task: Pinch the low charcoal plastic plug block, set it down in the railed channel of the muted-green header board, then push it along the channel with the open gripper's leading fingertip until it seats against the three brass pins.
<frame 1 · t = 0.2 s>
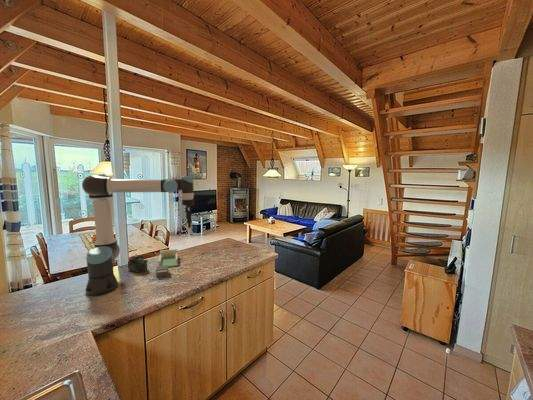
hand: (189, 230, 160), 27 cm above the worktop, fingers open, 13 cm apart
camera: (138, 270, 160), on the worktop
plug: (162, 274, 153), on the worktop
header: (168, 262, 173), on the worktop
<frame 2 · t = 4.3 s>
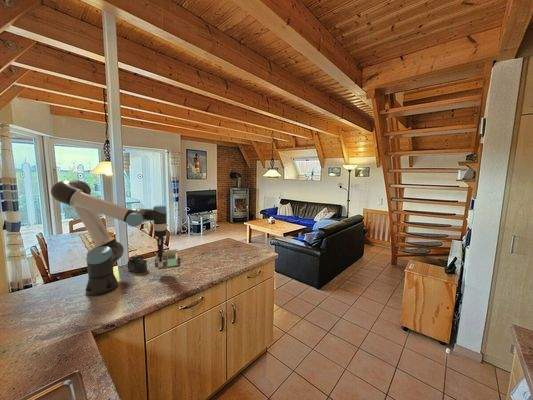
hand: (160, 264, 152), 7 cm above the worktop, fingers closed on plug, 6 cm apart
plug: (161, 265, 152), point 6 cm above the worktop, touching gripper
everything else where it was.
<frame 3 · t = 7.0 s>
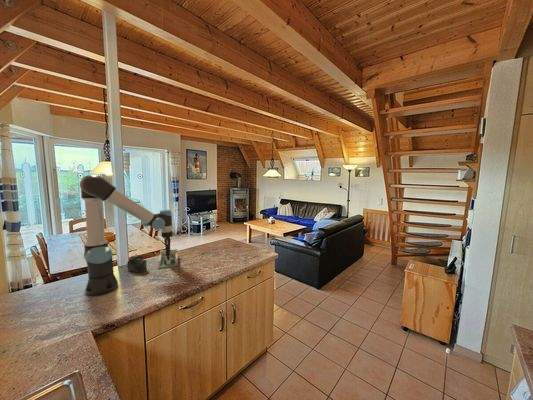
hand: (168, 262, 171), 1 cm above the worktop, fingers closed on header, plug, 6 cm apart
plug: (169, 262, 171), point 1 cm above the worktop, touching gripper, header
everything else where it was.
when the fingers open (1 cm above the worktop, at t = 7.5 s): plug stays where it is, resting on header.
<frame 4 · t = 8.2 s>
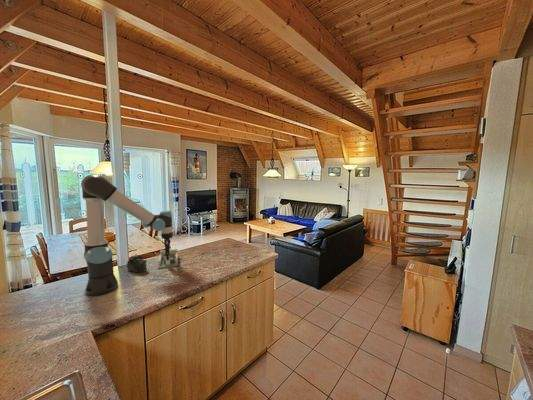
hand: (168, 260, 170), 2 cm above the worktop, fingers open, 13 cm apart
plug: (169, 262, 171), point 1 cm above the worktop, touching header
everything else where it was.
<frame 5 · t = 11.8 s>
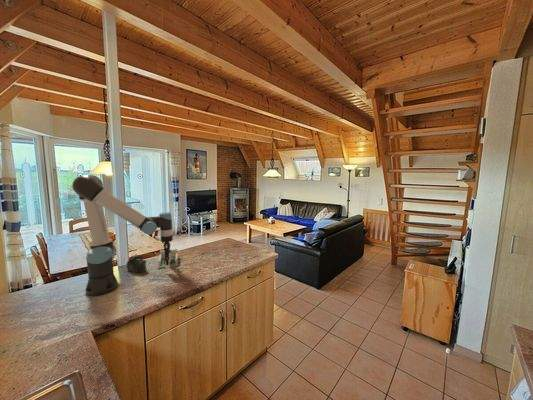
hand: (168, 265, 161), 3 cm above the worktop, fingers open, 13 cm apart
plug: (169, 262, 171), point 1 cm above the worktop, touching gripper
everything else where it was.
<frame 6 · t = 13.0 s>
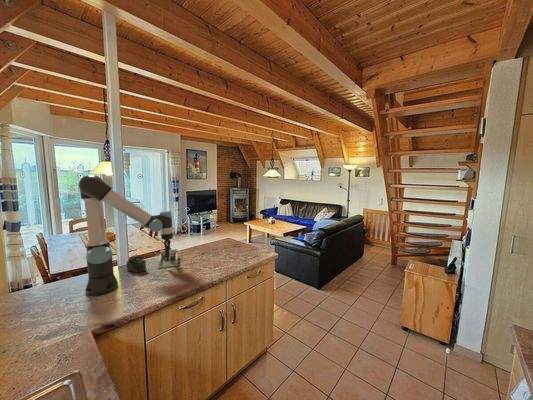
hand: (168, 262, 167), 3 cm above the worktop, fingers open, 13 cm apart
plug: (169, 259, 177), point 1 cm above the worktop, touching gripper, header
everything else where it was.
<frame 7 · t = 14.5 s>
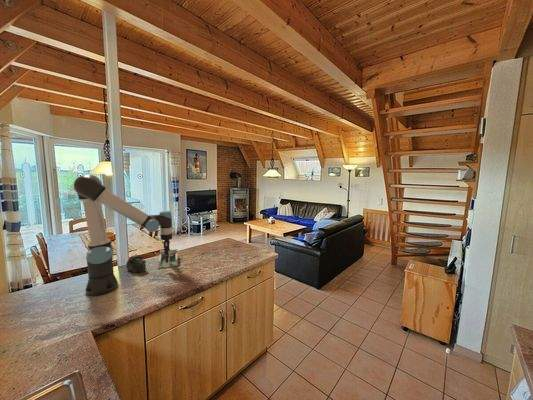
hand: (167, 263, 164), 3 cm above the worktop, fingers open, 13 cm apart
plug: (168, 258, 177), point 1 cm above the worktop, touching header
everything else where it was.
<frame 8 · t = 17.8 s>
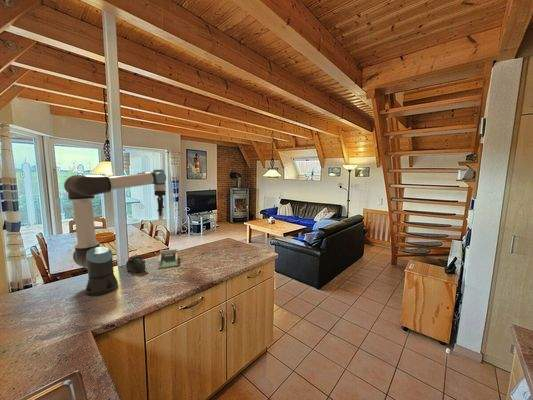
hand: (161, 218, 177), 32 cm above the worktop, fingers open, 13 cm apart
at the end: plug 0.3 cm from the target spot on the header, point 1.0 cm above the header's base; plug tilted 0°; the gripper is holding nothing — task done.
